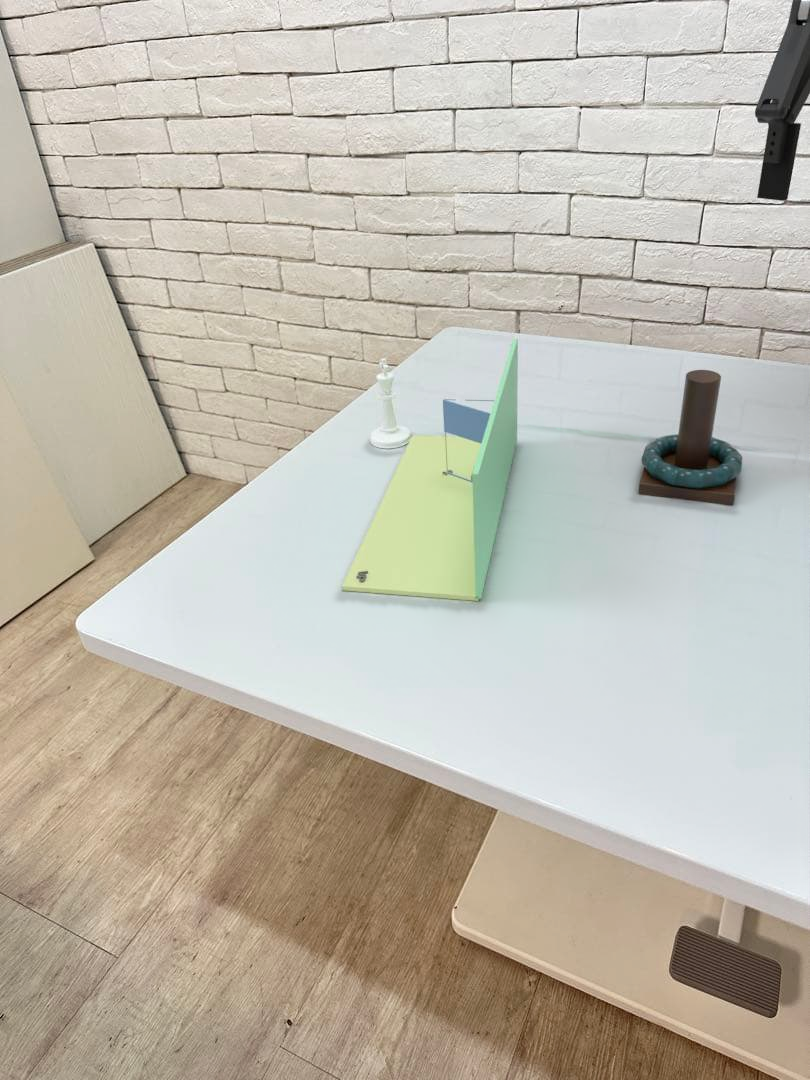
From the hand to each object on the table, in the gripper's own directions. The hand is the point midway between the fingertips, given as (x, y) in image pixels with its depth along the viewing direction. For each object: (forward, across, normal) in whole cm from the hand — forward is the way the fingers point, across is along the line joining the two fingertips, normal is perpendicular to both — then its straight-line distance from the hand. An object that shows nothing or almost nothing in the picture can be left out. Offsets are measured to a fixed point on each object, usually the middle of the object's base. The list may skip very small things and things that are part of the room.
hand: (809, 186), depth 80 cm
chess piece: (+25, +35, -27) cm, 51 cm away
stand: (+25, +19, +3) cm, 31 cm away
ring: (+23, +19, +3) cm, 30 cm away
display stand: (+25, +41, -11) cm, 49 cm away
